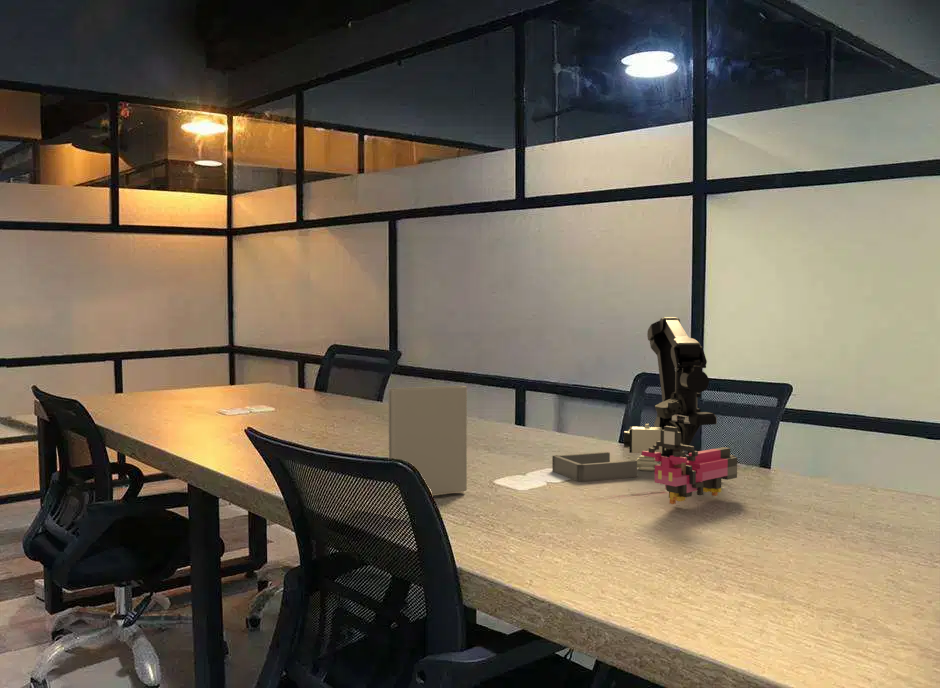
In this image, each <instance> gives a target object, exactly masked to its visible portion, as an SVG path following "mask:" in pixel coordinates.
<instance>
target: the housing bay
mask: <svg viewBox="0 0 940 688" xmlns="http://www.w3.org/2000/svg"><path fill="white" fill-rule="evenodd" d="M610 460H611V453H610V452H609V451H601V452H586V453H585V452H584V453H571V454H558V455H557V454H556V455H552V471H551V472H554V473H555V474H559V475H561V476H564V477H566V478H568V479H572V480H574V481H576V482H578V483H580V482H592V481H602V480H603V481H604V480H617V479H628V478H629V479H631V478H637V477H638V467H637V461H636V460H635V459H633V460H620V461H619V460H618V461H610Z"/></svg>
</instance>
